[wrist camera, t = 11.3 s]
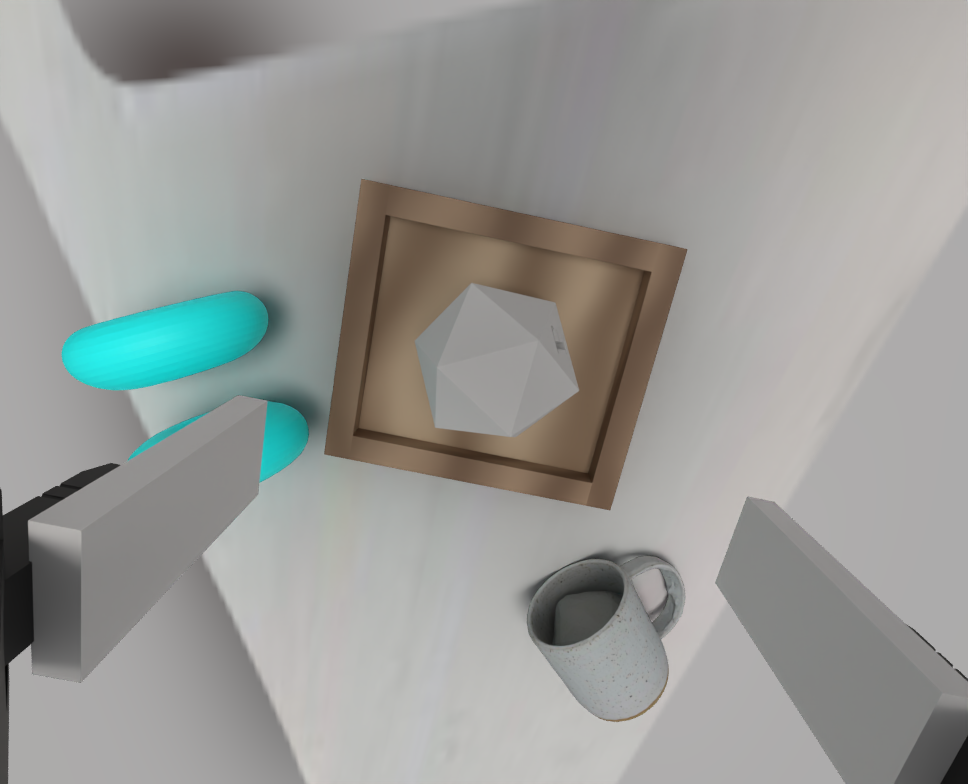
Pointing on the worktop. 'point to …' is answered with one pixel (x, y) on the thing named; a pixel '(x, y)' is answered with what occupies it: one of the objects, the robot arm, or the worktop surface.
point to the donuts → (184, 360)
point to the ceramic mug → (606, 634)
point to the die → (495, 362)
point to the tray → (514, 268)
